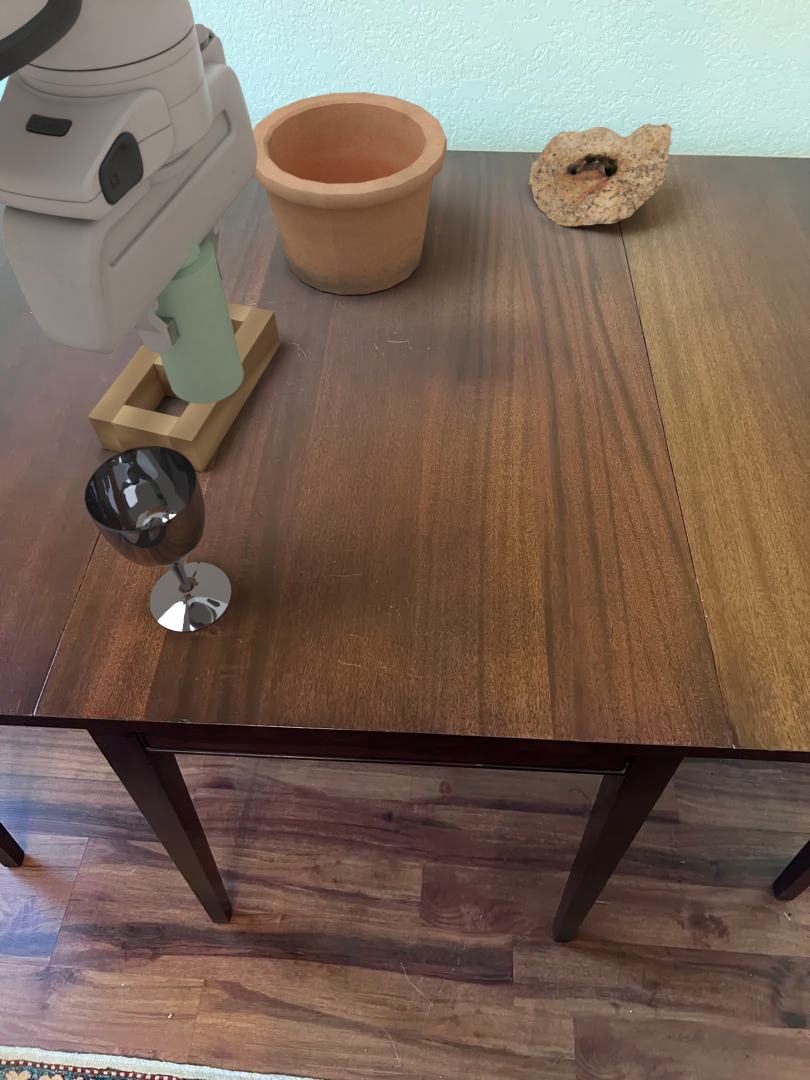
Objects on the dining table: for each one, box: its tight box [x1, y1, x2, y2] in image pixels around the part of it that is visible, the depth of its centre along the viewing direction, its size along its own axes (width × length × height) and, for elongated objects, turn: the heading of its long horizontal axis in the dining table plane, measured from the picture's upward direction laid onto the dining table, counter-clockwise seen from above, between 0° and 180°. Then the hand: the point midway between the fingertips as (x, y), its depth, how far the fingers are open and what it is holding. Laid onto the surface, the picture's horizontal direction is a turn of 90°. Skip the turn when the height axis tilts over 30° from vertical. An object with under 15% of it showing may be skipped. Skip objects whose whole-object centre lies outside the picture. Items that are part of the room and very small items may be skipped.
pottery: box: [253, 91, 448, 296], centre depth 91 cm, size 22×22×14 cm
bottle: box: [154, 234, 244, 404], centre depth 50 cm, size 5×5×15 cm
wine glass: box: [84, 446, 233, 633], centre depth 62 cm, size 8×8×15 cm
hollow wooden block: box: [87, 301, 281, 473], centre depth 81 cm, size 11×20×4 cm, turn 163°
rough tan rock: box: [528, 123, 673, 227], centre depth 101 cm, size 18×14×8 cm
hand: (187, 313), depth 51 cm, fingers closed on bottle, 5 cm apart
